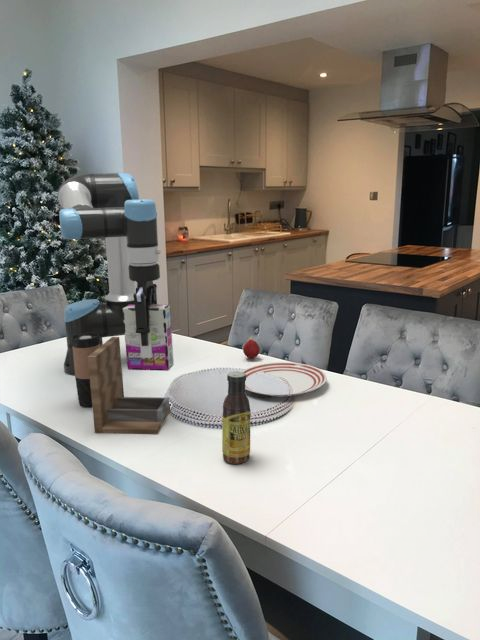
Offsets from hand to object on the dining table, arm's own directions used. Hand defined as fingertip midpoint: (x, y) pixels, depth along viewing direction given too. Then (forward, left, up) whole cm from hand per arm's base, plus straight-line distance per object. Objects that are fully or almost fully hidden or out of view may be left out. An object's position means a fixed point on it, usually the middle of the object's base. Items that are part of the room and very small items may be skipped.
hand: (149, 353), depth 135 cm
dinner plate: (-26, +33, -19) cm, 46 cm away
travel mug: (-10, -21, -18) cm, 29 cm away
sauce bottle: (+20, +24, -18) cm, 36 cm away
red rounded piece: (-51, +22, -18) cm, 58 cm away
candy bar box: (0, 0, -4) cm, 4 cm away
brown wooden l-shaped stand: (0, -5, -18) cm, 19 cm away
